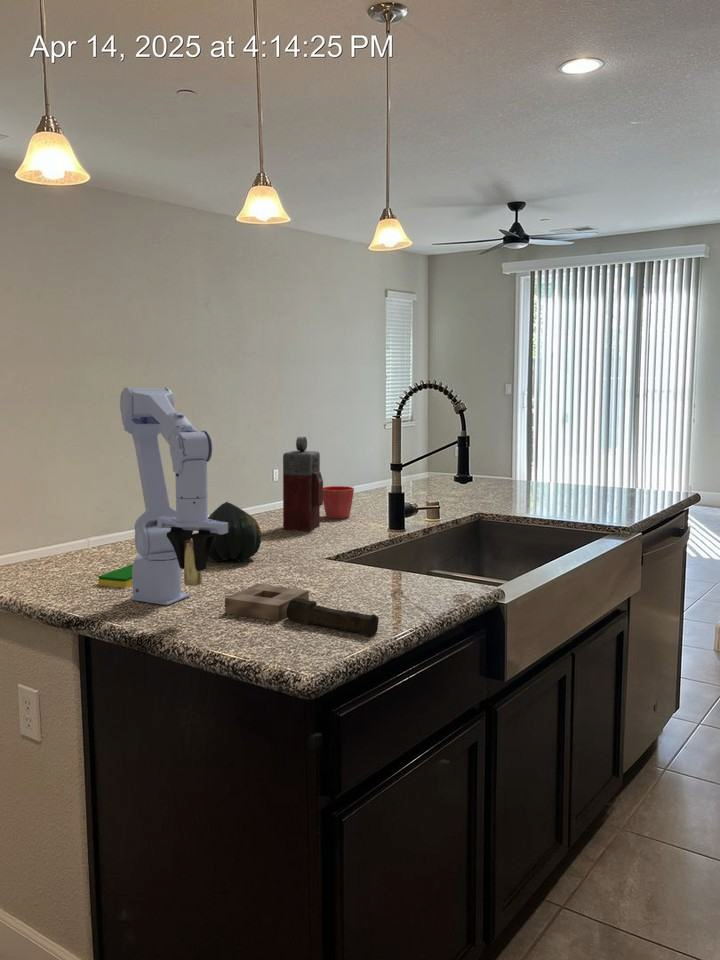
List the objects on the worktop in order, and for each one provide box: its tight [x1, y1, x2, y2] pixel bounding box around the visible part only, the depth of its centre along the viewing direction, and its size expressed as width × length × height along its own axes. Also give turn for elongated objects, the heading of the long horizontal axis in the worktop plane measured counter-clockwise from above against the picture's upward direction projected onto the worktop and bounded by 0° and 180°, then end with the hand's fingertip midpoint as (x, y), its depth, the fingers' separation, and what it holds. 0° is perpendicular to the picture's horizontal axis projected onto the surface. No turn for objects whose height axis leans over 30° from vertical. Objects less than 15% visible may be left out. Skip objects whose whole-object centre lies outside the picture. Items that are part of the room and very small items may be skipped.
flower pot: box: [323, 485, 355, 519], centre depth 263 cm, size 11×11×10 cm
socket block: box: [224, 583, 310, 622], centre depth 156 cm, size 12×12×3 cm
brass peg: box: [183, 539, 203, 587], centre depth 148 cm, size 3×3×8 cm
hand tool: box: [286, 598, 380, 638], centre depth 146 cm, size 19×4×5 cm, turn 58°
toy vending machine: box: [282, 436, 324, 532], centre depth 241 cm, size 9×11×28 cm
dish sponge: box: [97, 563, 133, 589], centre depth 179 cm, size 7×14×2 cm, turn 161°
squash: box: [208, 501, 262, 563], centre depth 200 cm, size 14×15×15 cm
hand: (192, 568), depth 148 cm, fingers closed on brass peg, 3 cm apart
